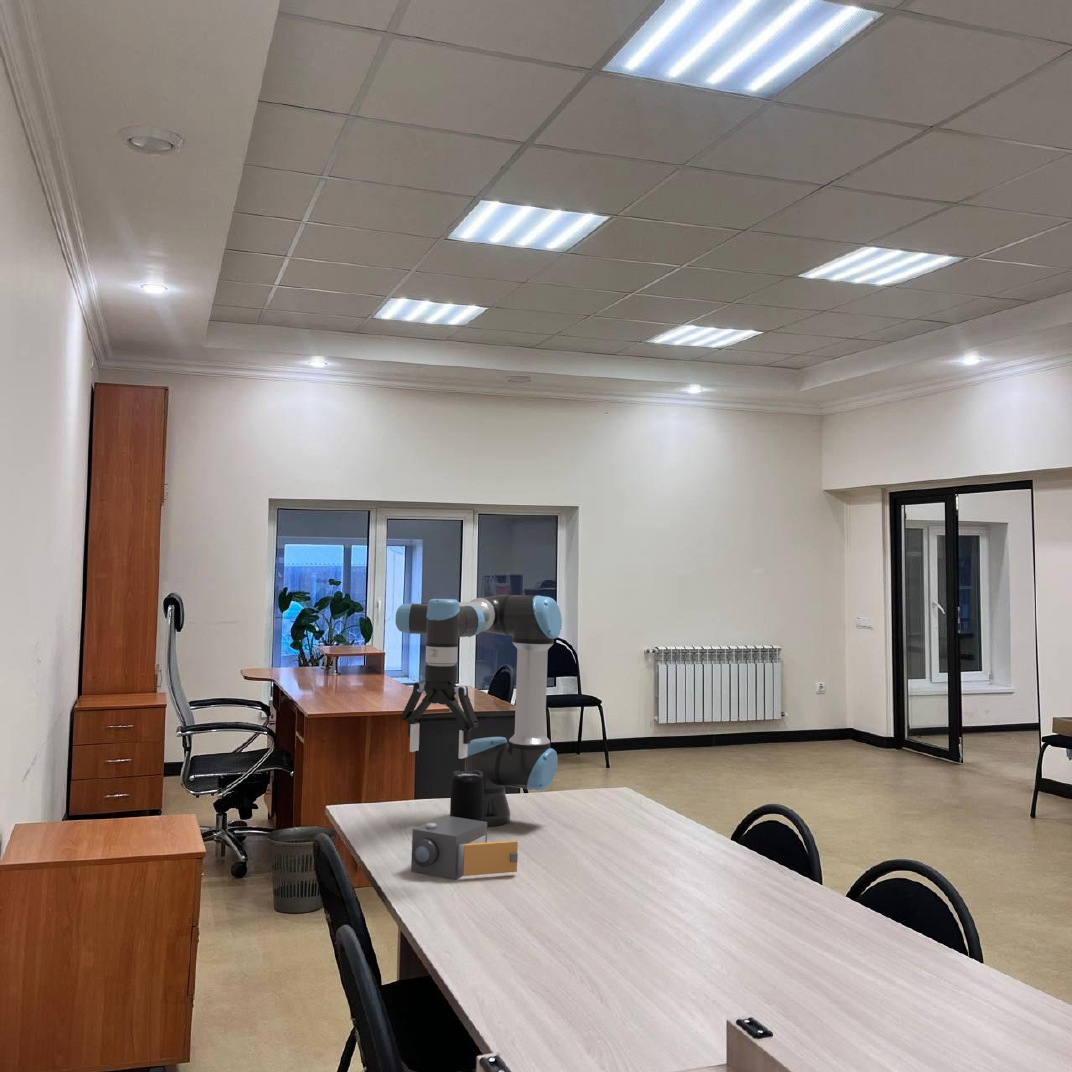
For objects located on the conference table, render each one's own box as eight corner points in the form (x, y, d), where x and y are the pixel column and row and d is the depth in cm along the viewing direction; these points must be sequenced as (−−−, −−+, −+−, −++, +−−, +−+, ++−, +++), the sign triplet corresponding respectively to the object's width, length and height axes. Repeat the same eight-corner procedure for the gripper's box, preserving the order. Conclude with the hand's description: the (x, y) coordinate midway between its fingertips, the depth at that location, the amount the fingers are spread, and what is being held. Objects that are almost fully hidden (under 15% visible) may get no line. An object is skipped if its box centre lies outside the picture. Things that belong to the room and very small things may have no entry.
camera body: (443, 855, 242) (445, 812, 243) (486, 863, 237) (488, 818, 237) (404, 874, 226) (406, 828, 227) (449, 883, 221) (451, 836, 221)
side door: (515, 870, 229) (516, 840, 230) (517, 872, 227) (518, 842, 228) (457, 874, 225) (458, 844, 225) (459, 877, 223) (460, 846, 223)
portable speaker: (479, 843, 254) (482, 768, 254) (484, 854, 244) (487, 776, 245) (447, 844, 252) (450, 768, 253) (450, 855, 243) (453, 776, 243)
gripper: (388, 661, 232) (385, 750, 231) (478, 669, 220) (475, 763, 220) (406, 659, 238) (403, 746, 238) (494, 666, 227) (491, 757, 226)
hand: (438, 754), depth 229 cm, fingers open, 13 cm apart
